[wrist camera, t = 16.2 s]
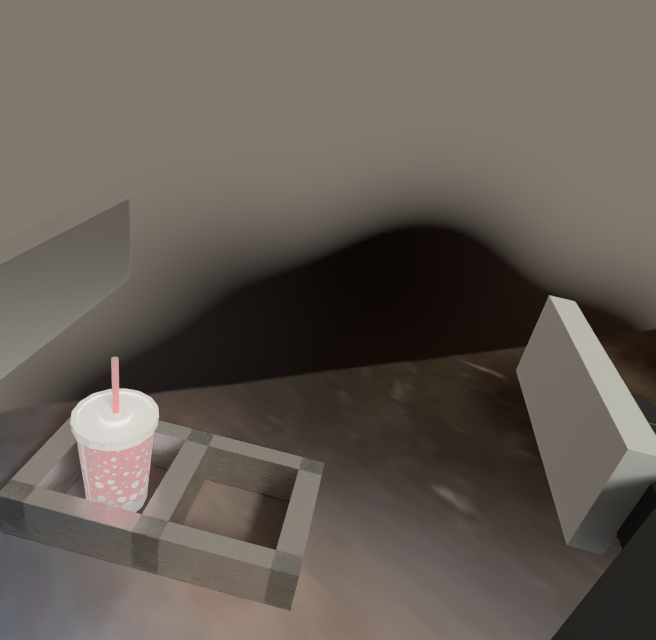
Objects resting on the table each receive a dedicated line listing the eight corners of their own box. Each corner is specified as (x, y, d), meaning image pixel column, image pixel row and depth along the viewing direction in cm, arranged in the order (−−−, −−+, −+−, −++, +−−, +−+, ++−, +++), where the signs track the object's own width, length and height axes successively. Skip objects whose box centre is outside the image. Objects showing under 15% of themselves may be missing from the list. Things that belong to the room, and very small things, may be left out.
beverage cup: (171, 498, 43) (179, 363, 36) (104, 543, 38) (98, 398, 32) (128, 458, 46) (128, 326, 39) (61, 495, 41) (47, 353, 35)
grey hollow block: (316, 494, 46) (324, 462, 44) (290, 610, 37) (299, 576, 35) (87, 434, 47) (85, 401, 45) (2, 532, 38) (-5, 495, 36)
